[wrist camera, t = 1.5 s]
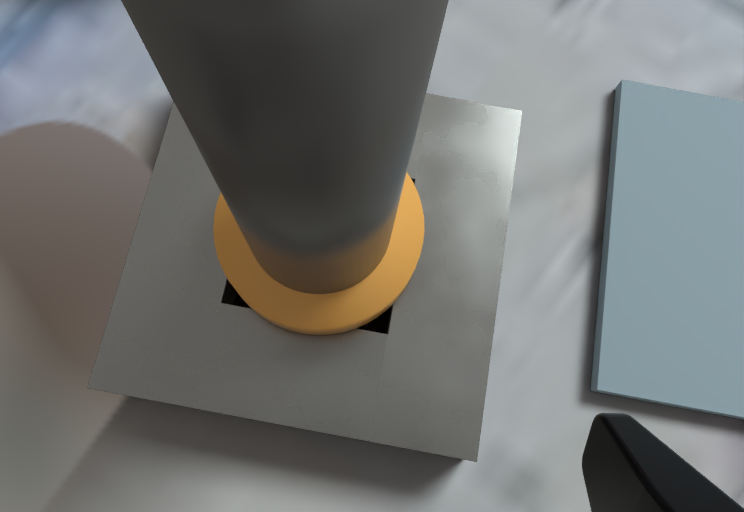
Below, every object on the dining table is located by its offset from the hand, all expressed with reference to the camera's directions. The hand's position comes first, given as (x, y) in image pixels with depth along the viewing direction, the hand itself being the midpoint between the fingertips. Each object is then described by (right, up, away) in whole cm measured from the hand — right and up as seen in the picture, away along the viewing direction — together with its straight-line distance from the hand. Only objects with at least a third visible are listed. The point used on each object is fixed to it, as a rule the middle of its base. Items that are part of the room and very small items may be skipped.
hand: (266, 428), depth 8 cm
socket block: (0, +2, +14) cm, 14 cm away
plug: (0, +2, +14) cm, 14 cm away
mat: (+16, +2, +15) cm, 22 cm away
